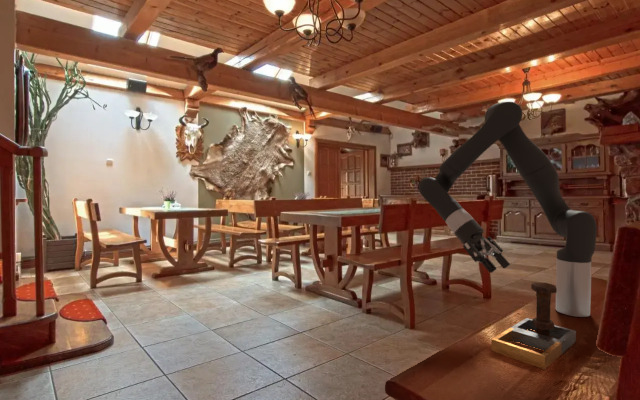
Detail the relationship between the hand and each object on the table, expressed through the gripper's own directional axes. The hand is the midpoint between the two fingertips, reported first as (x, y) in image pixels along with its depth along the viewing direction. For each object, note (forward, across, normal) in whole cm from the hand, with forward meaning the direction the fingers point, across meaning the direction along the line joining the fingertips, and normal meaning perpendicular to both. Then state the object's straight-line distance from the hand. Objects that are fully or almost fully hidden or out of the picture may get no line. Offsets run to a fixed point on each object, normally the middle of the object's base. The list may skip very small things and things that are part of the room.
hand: (500, 268), depth 103 cm
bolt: (+20, 0, +4) cm, 21 cm away
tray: (+20, -6, +4) cm, 21 cm away
